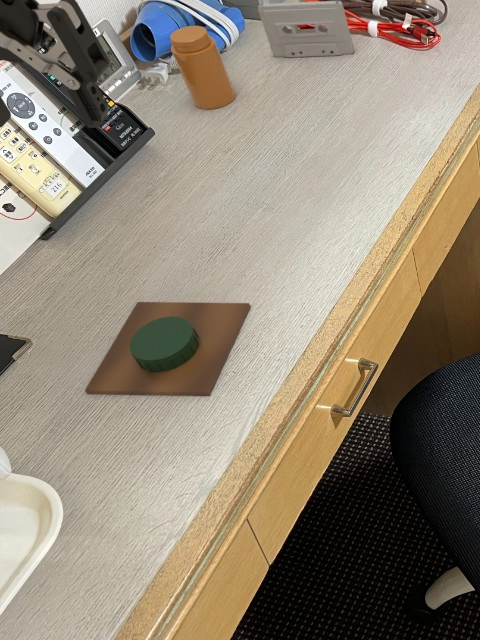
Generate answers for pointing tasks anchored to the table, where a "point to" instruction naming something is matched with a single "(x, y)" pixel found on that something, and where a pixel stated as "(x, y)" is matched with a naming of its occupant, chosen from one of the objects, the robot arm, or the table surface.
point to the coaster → (187, 379)
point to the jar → (202, 67)
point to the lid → (164, 344)
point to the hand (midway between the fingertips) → (50, 122)
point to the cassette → (306, 40)
